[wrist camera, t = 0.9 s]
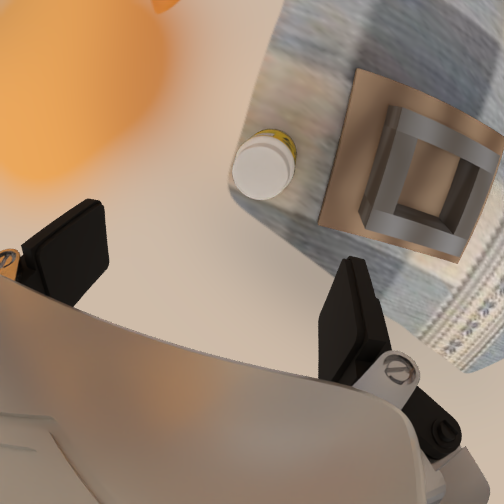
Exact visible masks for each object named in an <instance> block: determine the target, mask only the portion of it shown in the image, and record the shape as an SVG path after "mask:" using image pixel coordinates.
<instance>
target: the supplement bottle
mask: <svg viewBox="0 0 504 504" xmlns="http://www.w3.org/2000/svg"><path fill="white" fill-rule="evenodd" d="M296 156H297V152H296V147H295V144H294V142H293V140H292V139H291V138H290V137H289V136H288V135H287V134H286V133H284V132H283V131H280V130H277V129H265V130H262V131H260V132H258V133H256V134H255V135H254V136H252V137H251V138H250V139H248V140H247V141H246V142H245V143H243V144H242V145H241V147H240V148H239V150H238V151H237V154H236V156H235V161H234V164H233V168H232V176H233V180H234V183H235V185H236V186H237V188H238V189H239V190H240V191H241V192H242V193H243V194H244V195H246V196H248V197H250V198H252V199H256V200H267V199H271V198H273V197H275V196H277V195H278V194H279V193H280V192H282V190H283V189H284V188H285V187H286V186H287V185H288V184H289V183H290V181H291V180H292V178H293V175H294V172H295V164H296Z"/></svg>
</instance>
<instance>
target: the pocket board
mask: <svg viewBox="0 0 504 504" xmlns="http://www.w3.org/2000/svg"><path fill="white" fill-rule="evenodd" d="M503 150H504V136H502V135H501V134H499V133H498V132H496V131H495V130H493V129H491V128H490V127H488V126H486V125H485V124H483V123H481V122H480V121H478V120H476V119H475V118H473V117H471V116H469V115H468V114H466V113H464V112H462V111H460V110H458V109H456V108H454V107H453V106H451V105H449V104H447V103H445V102H443V101H440V100H438V99H436V98H434V97H432V96H430V95H428V94H425V93H423V92H421V91H419V90H416V89H414V88H411V87H409V86H407V85H404V84H402V83H399V82H396V81H394V80H391V79H388V78H386V77H383V76H380V75H377V74H374V73H371V72H368V71H365V70H362V69H359V68H357V69H356V72H355V76H354V81H353V86H352V90H351V95H350V99H349V104H348V108H347V112H346V116H345V121H344V125H343V129H342V133H341V137H340V141H339V145H338V149H337V153H336V157H335V160H334V164H333V168H332V172H331V176H330V179H329V183H328V186H327V190H326V194H325V197H324V201H323V204H322V208H321V211H320V215H319V218H318V225H320V226H324V227H328V228H332V229H336V230H340V231H344V232H347V233H351V234H355V235H359V236H363V237H366V238H370V239H374V240H378V241H381V242H385V243H388V244H392V245H396V246H399V247H403V248H406V249H410V250H413V251H417V252H420V253H423V254H427V255H430V256H434V257H437V258H440V259H444V260H447V261H450V262H453V263H457V264H458V262H459V260H460V258H461V256H462V254H463V252H464V250H465V248H466V246H467V244H468V242H469V240H470V238H471V236H472V234H473V231H474V229H475V227H476V225H477V222H478V220H479V218H480V215H481V213H482V211H483V208H484V206H485V203H486V200H487V198H488V195H489V193H490V190H491V187H492V184H493V181H494V179H495V176H496V173H497V170H498V166H499V163H500V160H501V157H502V153H503Z"/></svg>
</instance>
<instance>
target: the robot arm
mask: <svg viewBox="0 0 504 504" xmlns="http://www.w3.org/2000/svg"><path fill="white" fill-rule="evenodd" d="M21 247H22V251H23V255H22V256H21V257H20V253H19V252H18V250H16V249H5V250H2V251H0V504H487V502H488V500H489V496H490V487H489V484H488V482H487V481H486V479H485V477H484V475H483V474H482V472H481V470H480V469H479V467H478V465H477V464H476V462H475V460H474V459H473V457H472V456H471V454H470V453H469V451H468V449H467V448H466V446H465V447H464V448H461V446H460V443H461V437H462V433H461V429H460V426H459V424H458V422H457V421H456V420H455V419H454V418H453V417H452V416H451V415H450V414H449V413H447V412H446V411H445V410H444V409H443V408H442V407H441V406H440V405H438V404H437V403H436V402H435V401H434V400H433V399H432V398H431V397H429V396H428V395H427V394H426V393H425V392H424V391H423V390H421V389H420V388H419V387H418V386H417V385H418V383H419V380H420V371H419V368H418V366H417V365H416V363H415V361H414V360H413V359H412V358H411V357H409V356H408V355H406V354H405V353H402V352H399V351H392V349H391V344H390V340H389V336H388V331H387V327H386V323H385V319H384V316H383V312H382V308H381V304H380V301H379V299H377V298H376V297H375V293H374V289H373V286H372V282H371V279H370V275H369V272H368V269H367V265H366V262H365V260H364V259H361V258H357V257H352V256H349V257H348V258H347V259H342V261H341V264H340V266H339V269H338V271H337V274H336V276H335V279H334V282H333V284H332V287H331V289H330V291H329V294H328V296H327V299H326V301H325V303H324V306H323V308H322V310H321V313H320V316H319V321H318V338H319V364H318V366H319V367H318V368H319V369H318V370H319V371H318V372H319V373H318V379H317V378H312V377H307V376H303V375H297V374H293V373H288V372H283V371H278V370H274V369H269V368H264V367H260V366H256V365H252V364H247V363H243V362H239V361H235V360H231V359H227V358H223V357H219V356H215V355H212V354H208V353H204V352H201V351H197V350H194V349H190V348H187V347H184V346H180V345H177V344H173V343H170V342H167V341H164V340H160V339H158V338H155V337H152V336H148V335H146V334H142V333H140V332H137V331H134V330H131V329H128V328H125V327H123V326H120V325H117V324H114V323H112V322H109V321H106V320H104V319H101V318H99V317H96V316H94V315H91V314H89V313H86V312H83V311H81V310H79V309H76V308H74V305H75V304H76V303H77V302H78V301H79V300H80V298H81V297H82V296H83V295H84V294H85V292H86V291H87V290H88V289H89V288H90V287H91V286H92V284H93V283H95V281H96V280H97V279H98V278H99V277H100V276H101V275H102V274H103V273H104V271H105V270H106V269H107V268H108V266H109V255H108V246H107V235H106V225H105V211H104V206H103V205H102V203H101V202H100V201H98V200H94V199H86V200H84V201H83V202H81V203H79V204H78V205H76V206H75V207H73V208H72V209H70V210H69V211H67V212H66V213H64V214H63V215H62V216H60V217H59V218H57V219H56V220H54V221H53V222H52V223H50V224H49V225H47V226H46V227H45V228H43V229H42V230H41V231H39V232H38V233H36V234H35V235H34V236H33V237H31V238H30V239H29V240H27V241H26V242H25V243H23V244H22V245H21Z"/></svg>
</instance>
